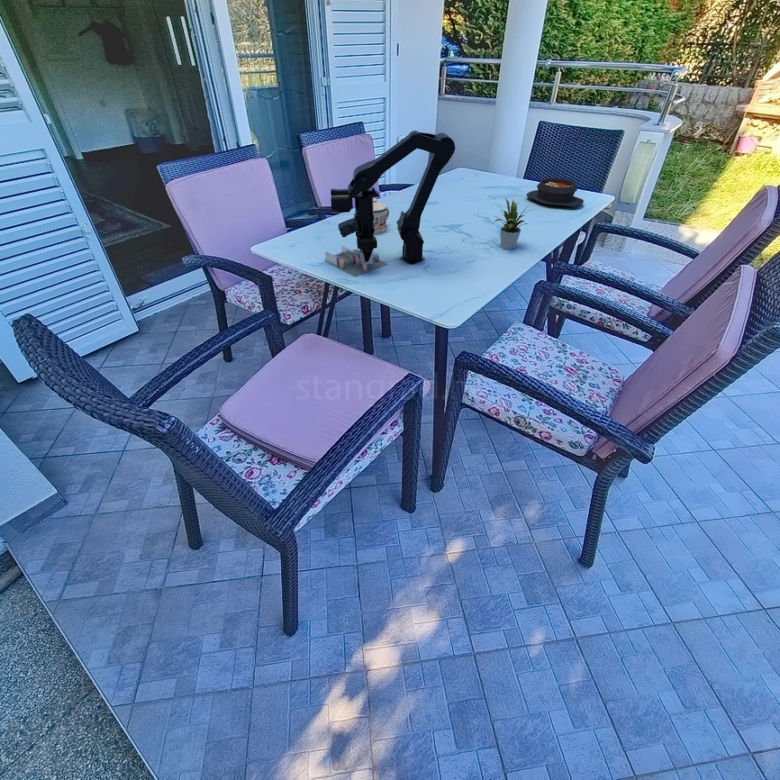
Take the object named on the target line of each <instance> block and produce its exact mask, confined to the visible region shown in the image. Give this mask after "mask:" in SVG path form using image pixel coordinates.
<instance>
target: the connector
mask: <svg viewBox="0 0 780 780" xmlns="http://www.w3.org/2000/svg"><path fill="white" fill-rule="evenodd" d="M359 250H360V262H361V264H363V262H365V259H364V255H363V251H362V249H359ZM373 257H374V256H373V253H372V254H371V256H370V259H369V261H368V262H367V264H373Z"/></svg>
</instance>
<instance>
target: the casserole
mask: <svg viewBox="0 0 780 780" xmlns="http://www.w3.org/2000/svg"><path fill="white" fill-rule="evenodd" d="M536 188H537V189H536V190H531V191H529V192H528V193H526V197H527V198H529V199H532V200H534V201H537V202H538V203H541V204H543V205H545V206H549V207H563V206H564V207H579V206H581V205H582V204H584V200H583V198H581V197H577V196H575V193H576V192H577V191H578V188H577V183H576V182H575V181H573V180H570V179H566V178H561V177H560V178H559V177H548V178H547V177H546V178H543V179H541V180H540V181H539V183H538V184H537V185H536Z"/></svg>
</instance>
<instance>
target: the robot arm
mask: <svg viewBox="0 0 780 780" xmlns="http://www.w3.org/2000/svg"><path fill="white" fill-rule="evenodd" d="M417 149H418V150H422V151H425V152H428V160H427V165H426V167H425V170H424V172H423V175H422V177H421V180H420V181H419V183H418V187H417V189H416V191H415V194H414V195H413V198H412V201H411V203H410V205H409V207H408V209H407V210H406V212H404V211H400V214H399V218H398V220H397V221H396V224H397V227H396V228H397V231H398V234H399V236H400V239H401V240H402V241H403V242H402V243H403V244H402V256H401V257H400V258H399V260H400V261H403V262H405V263H407V264H410V265H411V266H412V265H415V264H418V263H421V262H423V261H425V260H426V258H424V257H423V248H424V243H425V241H424V239H423V237H422V235H421V232H420V230H419V229H420V224H421V217H422V214H423V212H424V209H425V207H426V205H427V202H428V200H429V199H430V196H431V194H432V192H433V189H434V188H435V187H434V186H435V184H436V181H437V179H438V177H439V175H440V173H441V171H442V170H443V169H444V168H445V166H447V164H448V163H449V162H450V160H451V158H452V157H453V155H454V154H455V150H456V144H455V141H454V140H453V138H452V137H450V136H449V135H448V134H447V133H445V132H438V133H437V134H433V133H429V132H420V131H418V130H412V131H410V132H409V134H408V135H406V136H405V137H404V138H403V139H401V140H400V141H398V142H397V143H396V144H395V145H393V146H392V147H390V148H389V149H387V150H386V151H385V152H384V153H382V154H381V155H379V156H378V157H377V158H375V159H372V160H369V161H367V162H365V163H363V164H360V165H359V166H357V167H356V168H355V169H354V170H353V175H352V179H351V181H350V182H349V184H348V186H347V188H344V189H343V188H342V189H341V188H340V189H339V188H331V189H330V208H331V214H341V213H350V212H351V211H352V210H353V209H354V213H353V216H354V217H352V218H349V219H347V220H344V221H342V222H339V224H338V225H337V226H338V227H337V228H338V231H339V234H340V235H341V237H342V238H346V237H348V236H349V235H352V234H354V233H355V236H356V246H357V247H356V249H358V250H360V249H362V251H363V255H364V259H365V262H368V261H369V259H370V256H371V254H372V255H373V253H374V252H373V251H374V249H377V248H378V240H377V237H376V236H375V234H374V233H375V230H374V214H373V199H374V198H380V193H379V191H378V190H376V188H375V187H374V185H376V183H377V182H378V181H379V180H380V179H381V177H382V175H384V174H385V172H387V171H388V170H390V169H391V168H392V167H394V166H395V165H396V164H398V163H399V162H400V161H402V160H403V159H405V158H406V157H407V156H409V155H410V154H411V153H413V152H414V151H415V150H417ZM353 202H354V203H353Z"/></svg>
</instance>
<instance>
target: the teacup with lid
mask: <svg viewBox="0 0 780 780" xmlns="http://www.w3.org/2000/svg"><path fill="white" fill-rule="evenodd" d="M373 214H374V230H375V233H374V235H378V234H380V235H381V234H383V233H385V232H386V231H387V220H388V219H389V217H390V209H389V208H388V207H387V205H386V204H385V203H383V202H380V201H378V199H377V198H373Z"/></svg>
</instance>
